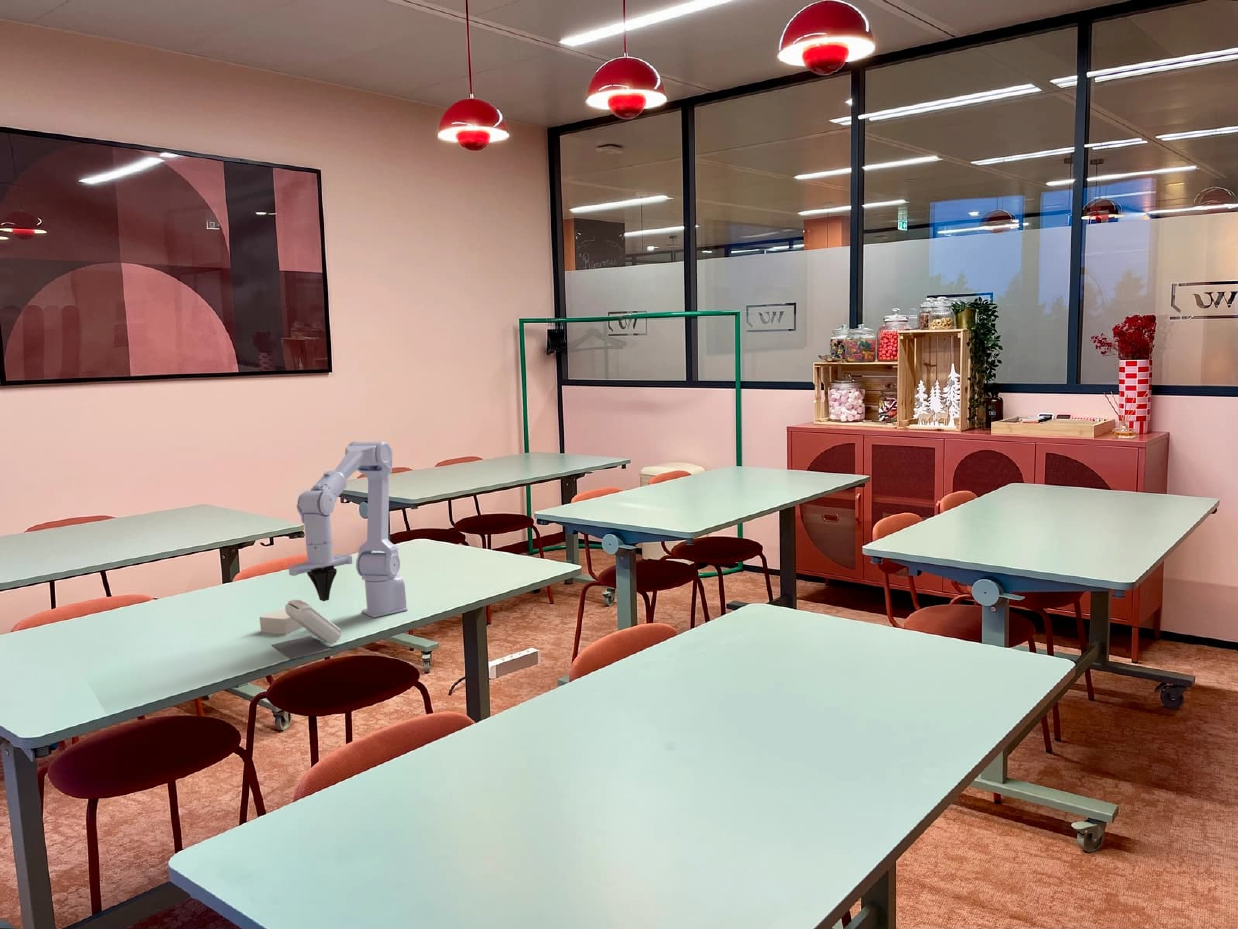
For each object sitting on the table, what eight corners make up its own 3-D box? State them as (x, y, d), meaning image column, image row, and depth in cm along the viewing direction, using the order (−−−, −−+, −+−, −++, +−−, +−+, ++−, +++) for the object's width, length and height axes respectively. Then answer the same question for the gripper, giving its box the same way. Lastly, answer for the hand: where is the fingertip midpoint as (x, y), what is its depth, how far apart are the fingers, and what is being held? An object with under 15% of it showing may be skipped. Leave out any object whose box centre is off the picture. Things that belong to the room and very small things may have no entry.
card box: (278, 625, 229) (277, 610, 228) (304, 628, 225) (302, 612, 225) (261, 633, 223) (259, 617, 223) (286, 635, 220) (285, 619, 219)
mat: (310, 636, 217) (310, 635, 217) (331, 650, 206) (331, 649, 206) (271, 645, 212) (271, 644, 212) (291, 659, 201) (291, 659, 201)
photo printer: (316, 637, 216) (277, 608, 210) (328, 622, 218) (289, 592, 212) (333, 647, 208) (293, 617, 202) (345, 632, 210) (306, 601, 204)
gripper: (340, 534, 218) (345, 590, 219) (280, 545, 208) (286, 604, 210) (354, 538, 213) (359, 595, 214) (294, 549, 203) (300, 609, 204)
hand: (324, 600), depth 212 cm, fingers closed
